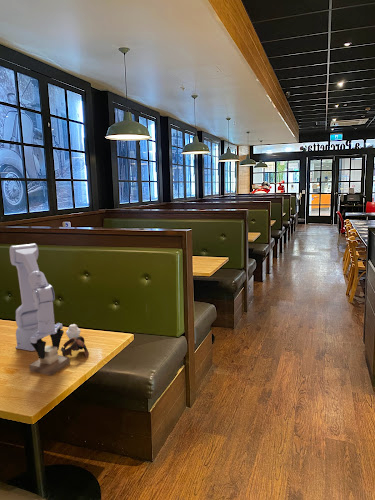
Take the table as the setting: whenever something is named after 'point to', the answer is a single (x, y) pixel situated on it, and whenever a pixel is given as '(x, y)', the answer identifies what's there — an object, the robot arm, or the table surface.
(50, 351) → the maple cube
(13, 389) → the table surface
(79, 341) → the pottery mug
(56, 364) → the grey flat square block
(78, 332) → the white rounded piece
